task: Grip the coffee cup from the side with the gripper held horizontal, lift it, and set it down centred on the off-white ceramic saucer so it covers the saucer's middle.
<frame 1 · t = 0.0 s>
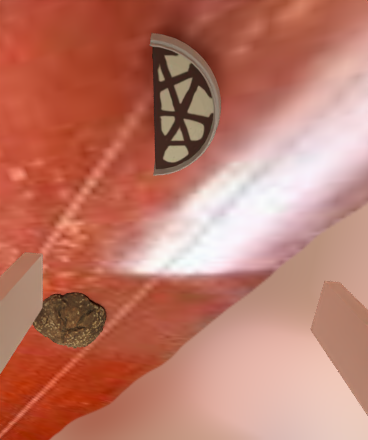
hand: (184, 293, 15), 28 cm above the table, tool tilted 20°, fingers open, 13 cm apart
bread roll: (73, 313, 61), on the table
food container: (186, 86, 37), on the table
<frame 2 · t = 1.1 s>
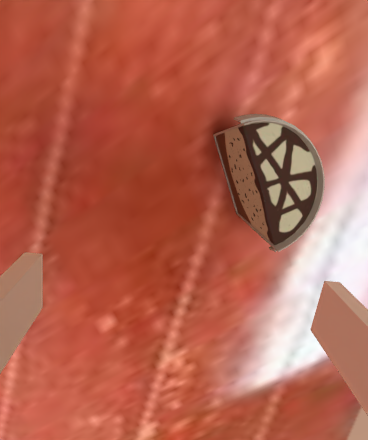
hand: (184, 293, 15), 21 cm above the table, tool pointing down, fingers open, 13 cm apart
food container: (250, 166, 37), on the table
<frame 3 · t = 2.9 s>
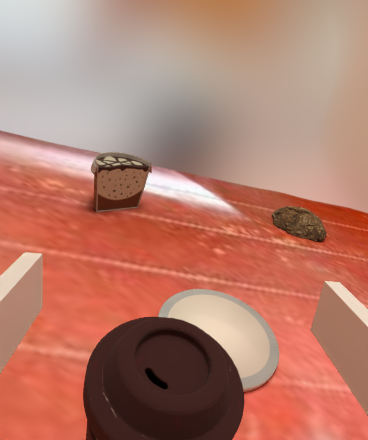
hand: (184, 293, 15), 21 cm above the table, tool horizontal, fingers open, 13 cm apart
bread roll: (295, 228, 81), on the table
saucer: (216, 335, 43), on the table
food container: (111, 203, 68), on the table
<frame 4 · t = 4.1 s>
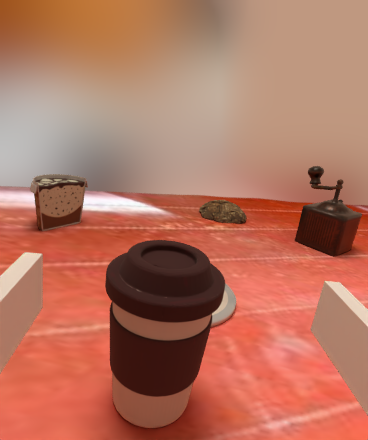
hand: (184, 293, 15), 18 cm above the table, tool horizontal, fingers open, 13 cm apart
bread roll: (220, 217, 94), on the table
manual coffee grinder: (313, 242, 84), on the table
coffee cup: (150, 398, 32), on the table
saucer: (182, 295, 50), on the table
food container: (53, 223, 72), on the table
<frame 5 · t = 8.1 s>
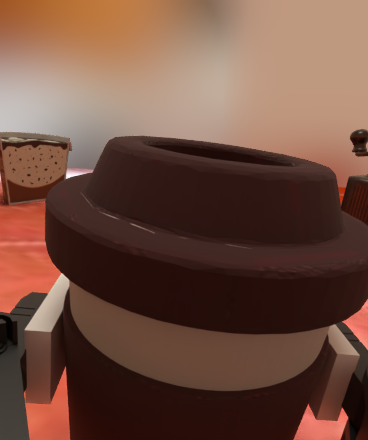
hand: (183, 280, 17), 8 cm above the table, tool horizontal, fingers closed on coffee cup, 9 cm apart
manual coffee grinder: (359, 224, 67), on the table
food container: (27, 197, 55), on the table
when the fingers open (10 cm above the table, at t = 13.5 s): coffee cup stays where it is, point 1 cm above the table.
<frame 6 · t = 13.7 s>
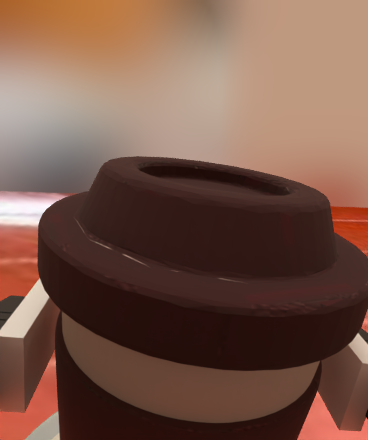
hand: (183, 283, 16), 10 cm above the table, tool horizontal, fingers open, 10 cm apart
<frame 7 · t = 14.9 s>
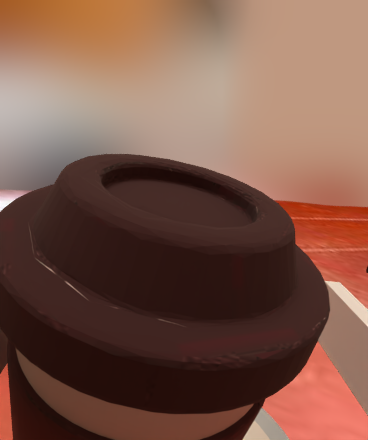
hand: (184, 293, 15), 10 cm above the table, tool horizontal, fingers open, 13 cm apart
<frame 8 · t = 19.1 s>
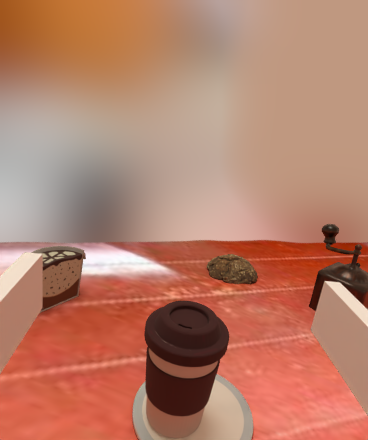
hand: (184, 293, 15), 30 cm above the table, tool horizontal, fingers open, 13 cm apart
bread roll: (229, 274, 88), on the table
manual coffee grinder: (329, 306, 78), on the table
coffee cup: (173, 415, 43), point 1 cm above the table, touching saucer
saucer: (192, 414, 45), on the table
food container: (49, 299, 66), on the table
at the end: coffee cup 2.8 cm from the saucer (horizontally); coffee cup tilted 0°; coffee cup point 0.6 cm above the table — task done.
